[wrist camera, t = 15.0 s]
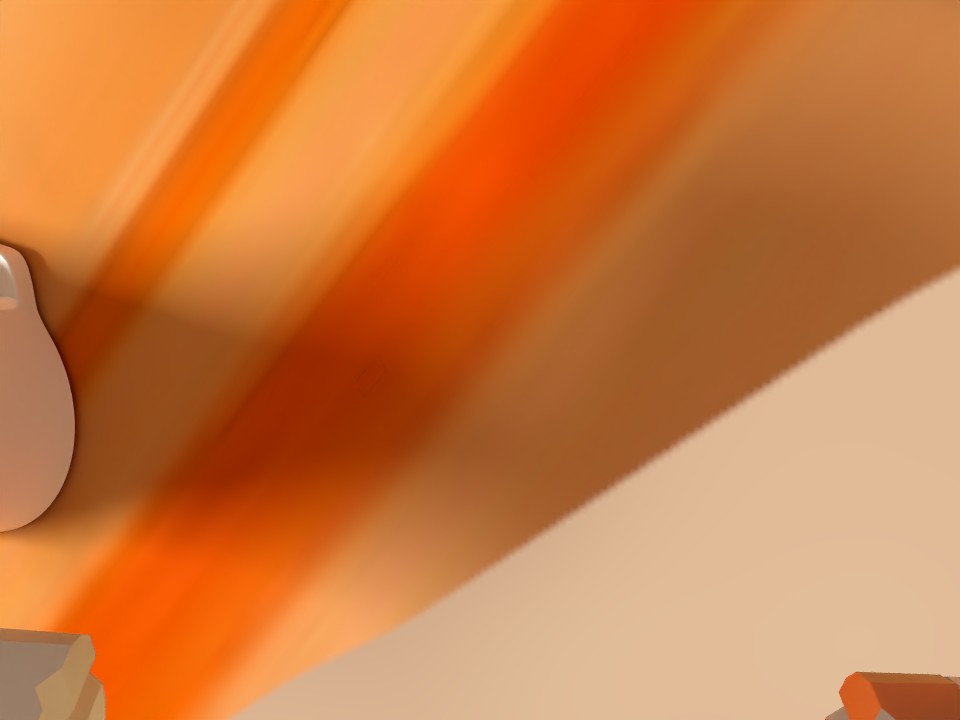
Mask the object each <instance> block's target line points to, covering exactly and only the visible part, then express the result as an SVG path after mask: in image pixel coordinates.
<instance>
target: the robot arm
mask: <svg viewBox="0 0 960 720" xmlns="http://www.w3.org/2000/svg"><path fill="white" fill-rule="evenodd" d="M74 436H75V418H74V406H73V399H72V394H71V389H70V385H69V381H68V377H67V374H66V371H65V368H64V365H63V362H62V360H61V358H60V355H59V353H58V351H57V349H56V347H55V345H54V343H53V341H52V339H51V337H50V335H49V333H48V332H47V330H46V328H45V326H44V324H43V322H42V320H41V318H40V316H39V313H38V310H37V307H36V301H35V296H34V290H33V285H32V281H31V276H30V272H29V269H28V266H27V264H26V261H25V259H24V258H23V256H22V255H21V254H20V253H19V252H18V251H17V250H15V249H13V248H11V247H8V246H5V245H2V244H0V532H3V531H9V530H13V529H16V528H19V527H22V526H24V525H26V524H28V523H30V522H31V521H33V520H35V519H36V518H37V517H39V516H40V515H41V514H42V513H43V512H44V511H45V510H46V509H47V508H48V507H49V506H50V505H51V503H52V502H53V501H54V499H55V498H56V496H57V495H58V493H59V491H60V489H61V487H62V486H63V483H64V481H65V479H66V476H67V473H68V470H69V467H70V463H71V459H72V454H73V447H74ZM95 657H96V654H95V650H94V647H93V643H92V640H91V636H90V635H85V634H72V633H58V632H45V631H31V630H18V629H4V628H0V720H105V693H104V689H103V684H102V682H101V681H100V680H98V679H97V678H96V677H95V676H93V675H92V674H91V673H90V672H89V671H90V669H91V666H92V664H93V661H94V659H95ZM839 694H840V697H841V699H842V702H843V704H844V707H842V708H841V709H839V710H837V711H836V712H834V713H832V714H831V715H829V716H828V717H826V719H825V720H960V677H943V676H941V675H929V674H901V673H871V672H855V673H854V674H852V675H850V676H848V677H847V678H846V679H845V681H844V683H843V685H842V687H841V689H840V691H839Z"/></svg>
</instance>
